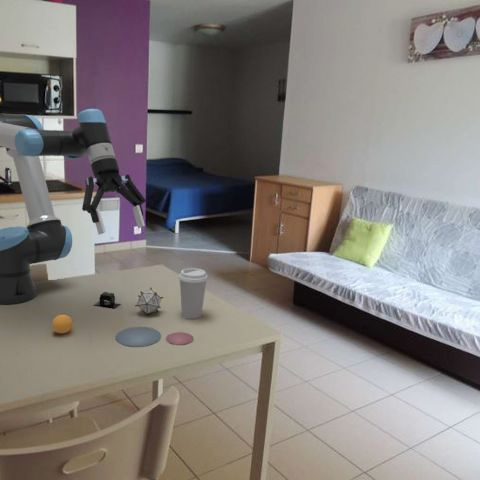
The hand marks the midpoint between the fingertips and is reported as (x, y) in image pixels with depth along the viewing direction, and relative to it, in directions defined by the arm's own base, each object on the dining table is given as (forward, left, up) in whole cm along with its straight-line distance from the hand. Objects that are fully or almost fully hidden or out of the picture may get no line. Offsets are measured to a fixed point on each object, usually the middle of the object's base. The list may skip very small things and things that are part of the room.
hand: (122, 230), depth 139 cm
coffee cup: (+20, +10, -30) cm, 38 cm away
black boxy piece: (-9, +16, -31) cm, 36 cm away
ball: (-16, -8, -27) cm, 32 cm away
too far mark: (+18, -8, -30) cm, 36 cm away
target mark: (+6, -8, -30) cm, 32 cm away
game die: (+6, +10, -30) cm, 33 cm away
